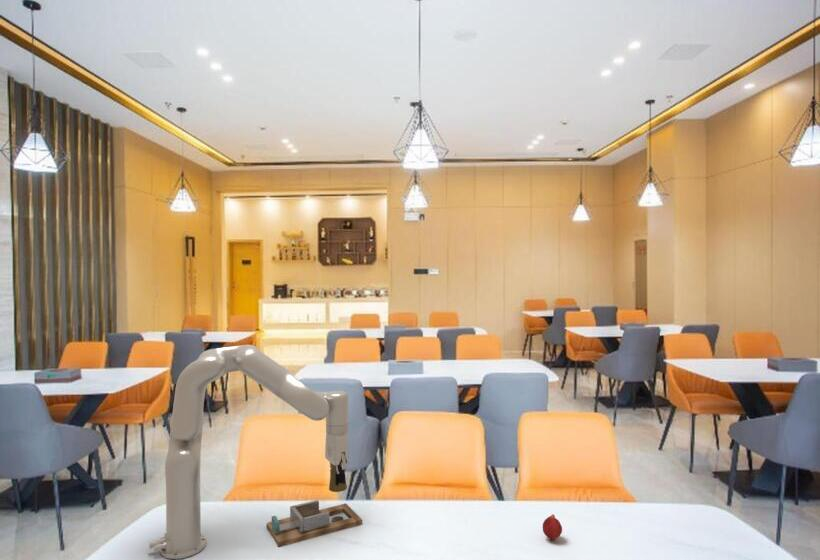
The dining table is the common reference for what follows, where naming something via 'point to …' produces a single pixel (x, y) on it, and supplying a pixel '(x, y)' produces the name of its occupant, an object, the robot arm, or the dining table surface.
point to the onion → (552, 527)
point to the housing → (297, 518)
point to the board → (337, 525)
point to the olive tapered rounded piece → (333, 481)
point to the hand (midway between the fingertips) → (337, 481)
